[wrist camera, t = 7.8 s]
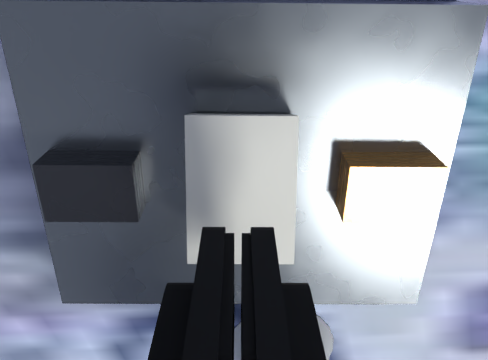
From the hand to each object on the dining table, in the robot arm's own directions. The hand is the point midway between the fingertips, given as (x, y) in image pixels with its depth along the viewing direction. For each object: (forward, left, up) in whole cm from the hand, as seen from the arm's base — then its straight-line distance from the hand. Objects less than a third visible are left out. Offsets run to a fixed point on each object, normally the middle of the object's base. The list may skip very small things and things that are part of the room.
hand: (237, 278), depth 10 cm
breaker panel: (0, 0, -7) cm, 7 cm away
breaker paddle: (0, 0, -5) cm, 5 cm away
